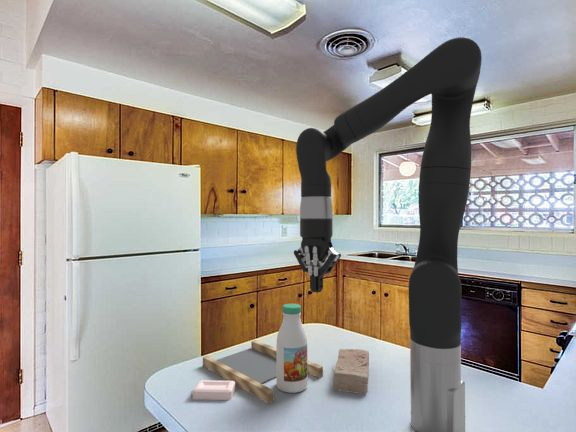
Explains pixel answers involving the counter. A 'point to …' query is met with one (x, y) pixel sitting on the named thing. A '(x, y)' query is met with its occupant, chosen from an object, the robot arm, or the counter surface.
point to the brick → (352, 371)
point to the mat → (252, 365)
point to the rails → (248, 383)
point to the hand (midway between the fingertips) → (316, 291)
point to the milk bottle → (291, 352)
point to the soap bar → (214, 390)
